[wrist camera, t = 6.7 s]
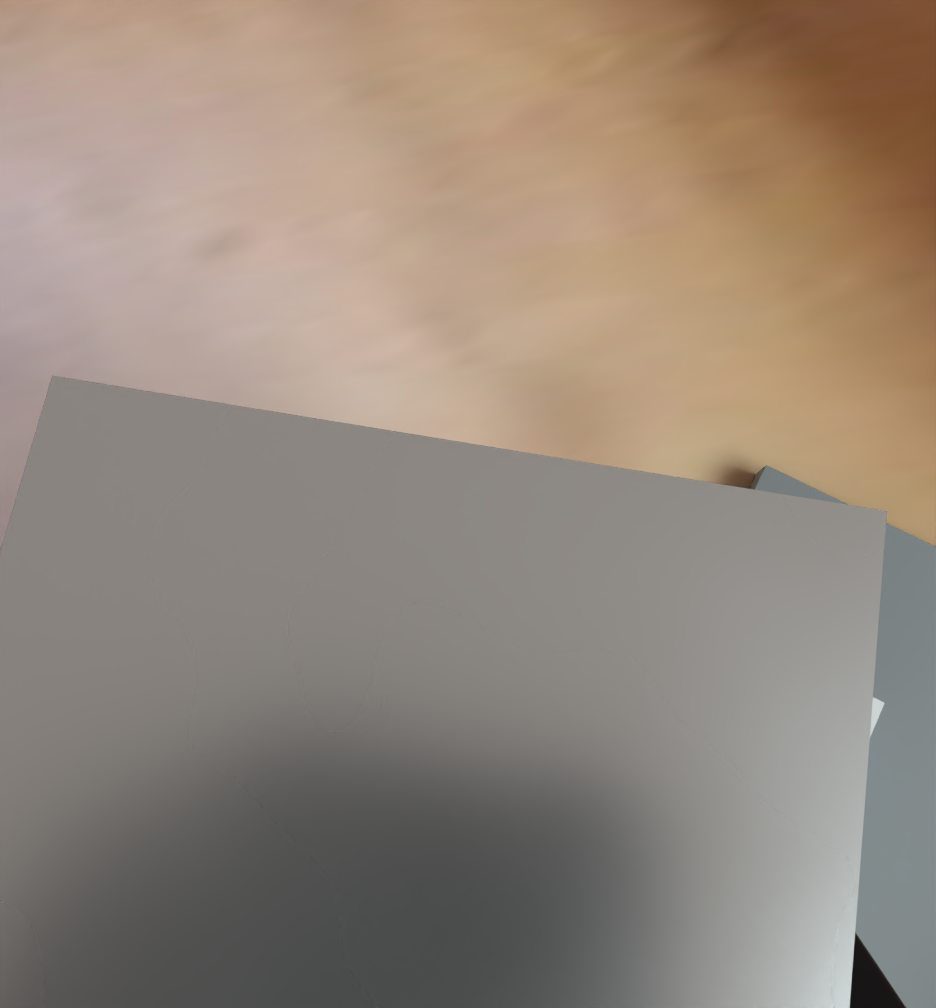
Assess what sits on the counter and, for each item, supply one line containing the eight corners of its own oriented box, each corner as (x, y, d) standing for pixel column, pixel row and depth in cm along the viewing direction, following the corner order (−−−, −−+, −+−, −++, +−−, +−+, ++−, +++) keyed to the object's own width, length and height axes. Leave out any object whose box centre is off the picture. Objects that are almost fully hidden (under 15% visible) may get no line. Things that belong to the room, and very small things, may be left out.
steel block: (549, 956, 15) (780, 1943, 3) (315, 909, 15) (-323, 1650, 3) (592, 655, 16) (885, 510, 4) (373, 616, 16) (51, 374, 4)
